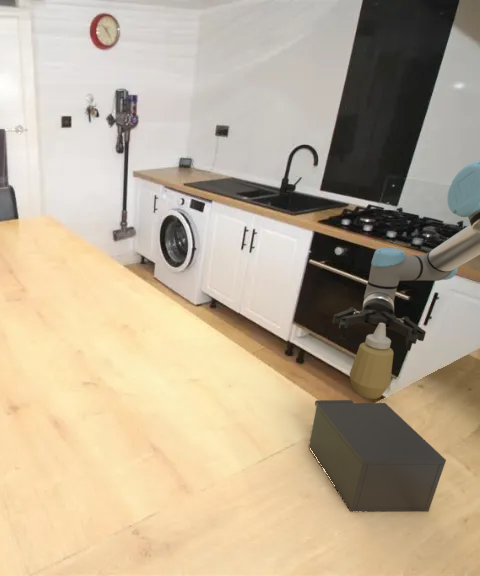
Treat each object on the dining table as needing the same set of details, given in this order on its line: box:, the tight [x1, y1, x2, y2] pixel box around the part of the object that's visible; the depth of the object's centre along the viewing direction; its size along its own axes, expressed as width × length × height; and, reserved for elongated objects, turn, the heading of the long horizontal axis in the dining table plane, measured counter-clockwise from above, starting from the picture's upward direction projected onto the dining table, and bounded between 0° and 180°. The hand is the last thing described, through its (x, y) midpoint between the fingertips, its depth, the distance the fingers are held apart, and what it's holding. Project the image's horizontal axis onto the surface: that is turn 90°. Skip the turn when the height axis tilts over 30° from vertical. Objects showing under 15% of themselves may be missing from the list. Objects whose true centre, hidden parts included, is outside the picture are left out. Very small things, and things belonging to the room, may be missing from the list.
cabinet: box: [308, 402, 447, 513], centre depth 72 cm, size 15×13×11 cm
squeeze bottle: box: [349, 323, 395, 400], centre depth 94 cm, size 8×8×18 cm
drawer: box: [309, 399, 355, 440], centre depth 76 cm, size 18×11×9 cm, turn 179°
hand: (376, 338), depth 102 cm, fingers open, 13 cm apart
